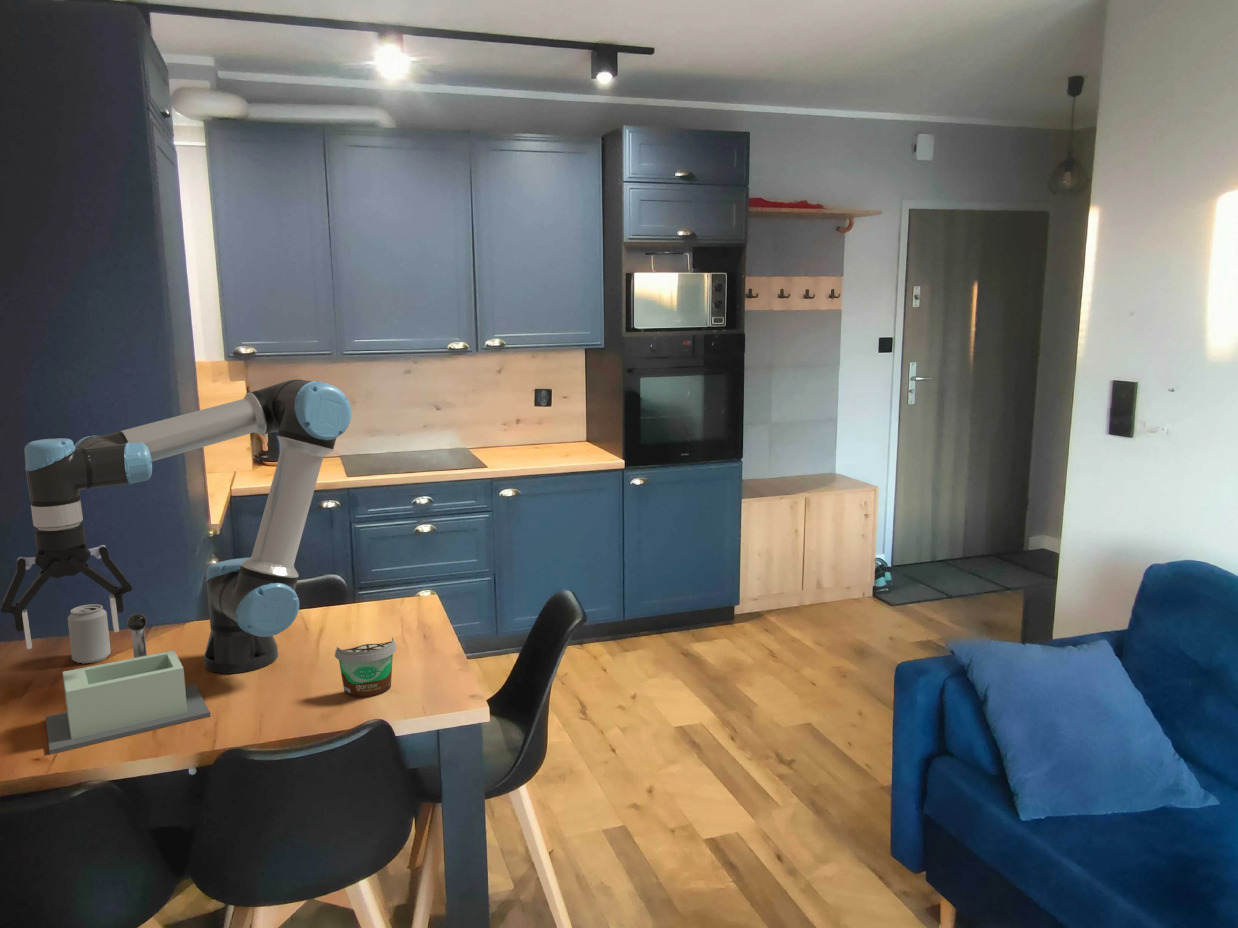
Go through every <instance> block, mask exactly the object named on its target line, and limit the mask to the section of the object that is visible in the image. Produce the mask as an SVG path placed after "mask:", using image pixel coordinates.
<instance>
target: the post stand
mask: <svg viewBox="0 0 1238 928" xmlns="http://www.w3.org/2000/svg"><path fill="white" fill-rule="evenodd" d="M126 623H127V627H128V629H130V632H131V641H132V642H131V643H132V653H133V658H137V657H142V656H147V655H148V653H147V642H146V634H145V633H146V632H145V628H146V626H147V623H148V619H147V617H146V616H145V615H144V614H142V613H133V614H131V615H130V616H128V618H127V622H126Z"/></svg>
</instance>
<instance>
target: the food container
mask: <svg viewBox="0 0 1238 928" xmlns="http://www.w3.org/2000/svg"><path fill="white" fill-rule="evenodd" d="M396 651H397V645H396V641H395V639H394V637H393V636H392V637H391V641H387V642H382V643H368V644H367V643H366V644H361V645H358V646H355V647H352V648H347V649H341V648H340V647H339V646H336V649H335V653H334V658H335V659H337V660H338V663H339V669H340V675H341V680H342V686H343V691H344V694H345V695H347V696H349V697H352V698H356V699H357V698H360V699H365V698H366V699H367V698H372V697H377V696H380V695H383V694H385V693H386V692H388V691H389V690H390V689H391V687H392V673H393V661H394V660H393V658H394V656H393V655H394V654H395V652H396Z"/></svg>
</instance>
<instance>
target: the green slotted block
mask: <svg viewBox="0 0 1238 928" xmlns="http://www.w3.org/2000/svg"><path fill="white" fill-rule="evenodd" d="M62 677H63V678H62V679H63V686H64V687H63V688H64V697H65V704H66V705H65V706H66V712H67V716H68V722H69V728H70V734H71V739H74V738H79V737H83V736H87V735H92V734H96V733H100V732H105V731H109V730H113V729H117V728H122V727H126V726H130V725H135V724H139V723H143V722H148V721H152V720H156V719H160V718H165V717H169V716H173V715H178V714H182V713H186V712H187V702H186V691H185V686H186V679H185V670H184V666H183V664H182V663H181V661H180V659H179V657H178V655H177V652H176V651H175V650H168V651H167V650H166V651H164V652H158V653H153V654H149V655H148V654H147V656H142V657H137V658H134V657H133V658H126V659H122V660H117V661H113V662H111V661H110V662H107V663H101V664H96V665H91V666H86V667H81V668H75V669H69V670H65V671H62Z"/></svg>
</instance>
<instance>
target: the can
mask: <svg viewBox="0 0 1238 928" xmlns="http://www.w3.org/2000/svg"><path fill="white" fill-rule="evenodd" d="M69 612H70V614H69V615H68V616H67V624H68V625H67V626H68V636H69V644H70V645H69V646H70V653H71V655H70V656H71V660H72V661H74V662H76V664H79V663H82V664H81V665H86V664H87V663H90V664H95V663H98V662H101V660H102V661H103V660H105V659H107V657H108V656H109V655H110V654H111V653H112V651H111V641H110V632H109V622H108V612H107V610H105V609H104V607H103V605H101V604H98V603H97V604H95V603H94V604H85V605H84V604H83V605H79V606H76V607H74V608H72V609H71V610H70V611H69ZM85 663H86V664H85Z"/></svg>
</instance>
